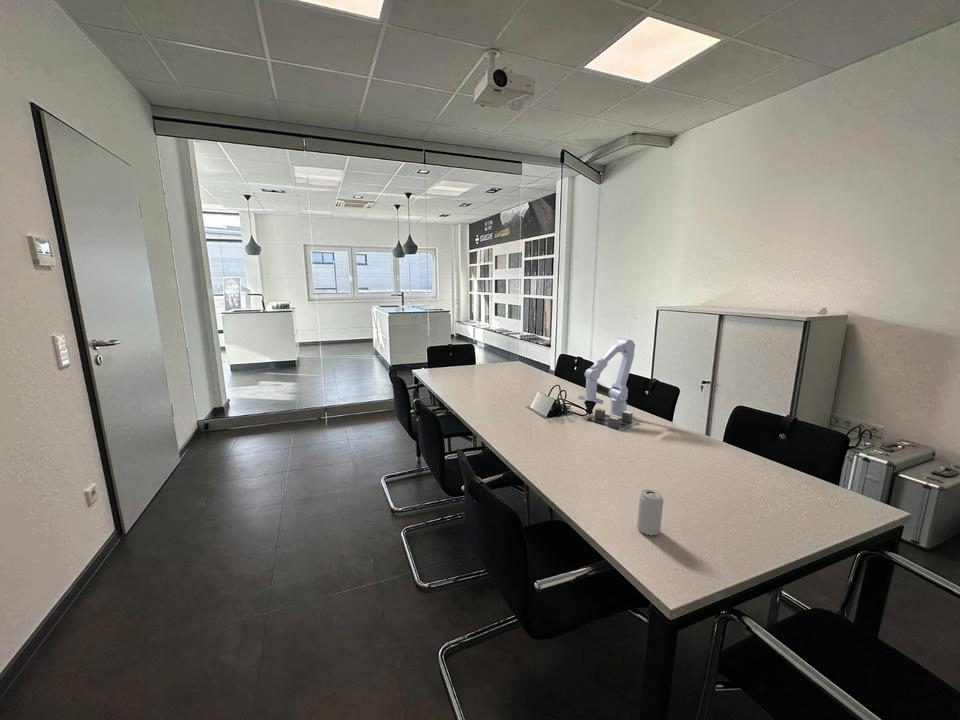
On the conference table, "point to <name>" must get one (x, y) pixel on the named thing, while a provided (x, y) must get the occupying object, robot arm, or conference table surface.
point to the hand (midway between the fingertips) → (589, 413)
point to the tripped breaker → (600, 413)
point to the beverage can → (650, 512)
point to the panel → (622, 424)
